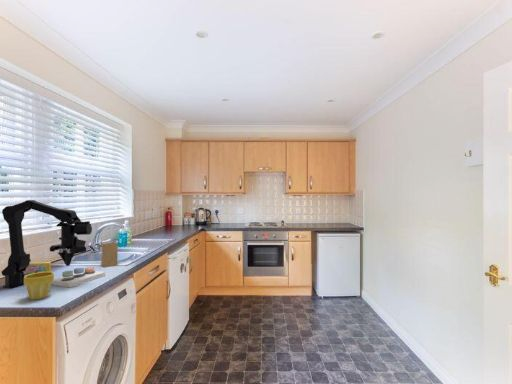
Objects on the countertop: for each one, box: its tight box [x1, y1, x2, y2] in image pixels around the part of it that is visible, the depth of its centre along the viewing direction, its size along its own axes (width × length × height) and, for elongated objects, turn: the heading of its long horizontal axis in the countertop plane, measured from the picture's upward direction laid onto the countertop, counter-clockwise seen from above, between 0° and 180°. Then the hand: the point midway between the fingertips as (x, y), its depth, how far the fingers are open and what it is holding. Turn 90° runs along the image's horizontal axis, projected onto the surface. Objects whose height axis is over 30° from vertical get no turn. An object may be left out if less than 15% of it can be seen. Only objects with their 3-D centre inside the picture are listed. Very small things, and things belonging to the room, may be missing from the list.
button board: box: [51, 270, 106, 288], centre depth 144 cm, size 20×14×2 cm
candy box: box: [22, 261, 52, 276], centre depth 148 cm, size 16×2×8 cm, turn 95°
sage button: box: [61, 270, 74, 277], centre depth 138 cm, size 4×4×2 cm
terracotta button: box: [84, 266, 95, 273], centre depth 149 cm, size 4×4×2 cm
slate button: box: [73, 267, 85, 274], centre depth 144 cm, size 4×4×2 cm
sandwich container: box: [100, 241, 119, 268], centre depth 177 cm, size 9×15×15 cm, turn 33°
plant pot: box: [23, 271, 55, 301], centre depth 120 cm, size 10×10×10 cm
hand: (67, 265), depth 138 cm, fingers closed
